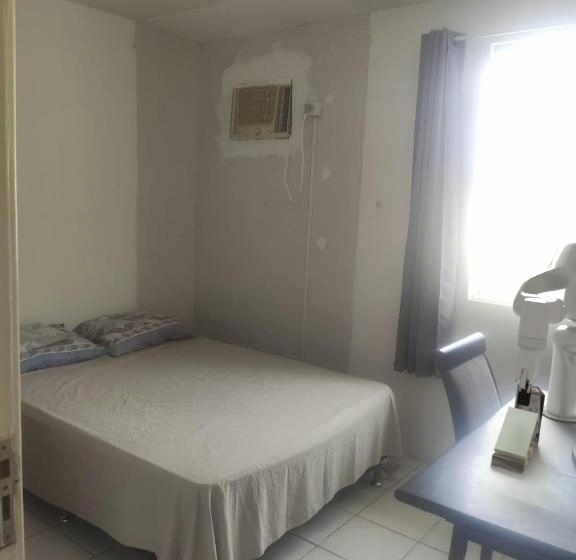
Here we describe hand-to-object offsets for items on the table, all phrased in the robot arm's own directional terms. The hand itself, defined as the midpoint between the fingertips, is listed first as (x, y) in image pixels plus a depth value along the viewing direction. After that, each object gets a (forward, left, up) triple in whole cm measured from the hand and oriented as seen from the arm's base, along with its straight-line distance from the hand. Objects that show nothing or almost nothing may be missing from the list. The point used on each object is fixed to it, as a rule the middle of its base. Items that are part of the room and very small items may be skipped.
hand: (523, 404), depth 161 cm
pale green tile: (+5, 0, -7) cm, 9 cm away
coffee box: (-11, 0, -15) cm, 18 cm away
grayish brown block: (+5, 0, -14) cm, 15 cm away
